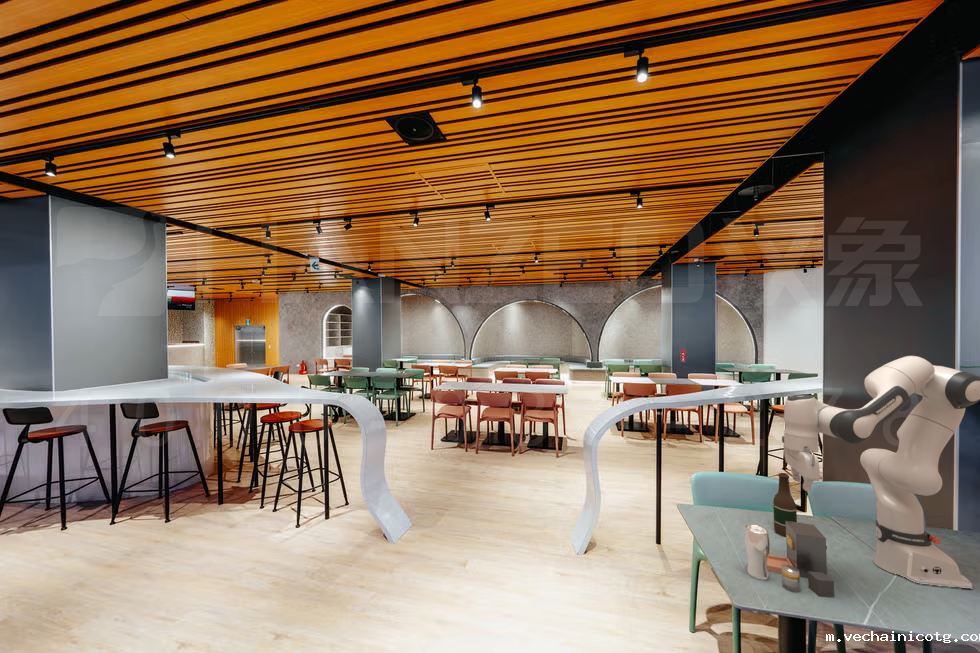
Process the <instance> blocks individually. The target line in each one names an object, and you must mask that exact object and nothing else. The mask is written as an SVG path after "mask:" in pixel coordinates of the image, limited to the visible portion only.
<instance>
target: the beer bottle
mask: <svg viewBox="0 0 980 653" xmlns="http://www.w3.org/2000/svg"><path fill="white" fill-rule="evenodd" d="M777 475H778V491H777V492H776V494H775V495H774V497H773V502H772V504H773V527H774V528H773V529H774V532H775V534H777V535H779V536H781V537H783V538H786V521H792V522H798V517H797V515H798V514H797V512H798V511H797V504H796V502H795V499H794V498H793V496H792V495H791V490H790V476H789V474H787V473H783V472H781V473H780V472H779V473H778V474H777Z"/></svg>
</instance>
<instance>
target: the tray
mask: <svg viewBox="0 0 980 653" xmlns="http://www.w3.org/2000/svg"><path fill="white" fill-rule="evenodd" d="M782 565H790V566H793V565H792V563H791V562H790V560H789V559H788V558H787V557H784V556H778V555H772V554H769V556H768V562H767V570H768V572H770V573H771V572H772V573H778V574H782V572H781V568H782Z"/></svg>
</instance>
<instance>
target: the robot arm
mask: <svg viewBox="0 0 980 653" xmlns="http://www.w3.org/2000/svg"><path fill="white" fill-rule="evenodd" d="M863 384H864V388H865V390H866V392H867V393H868V395H869V396H870V397H871V398H872V400H870V401H869V402H867V404H865V405H863V407H860V408H855V409H850V408H849V409H847V408H842V407H837V406H833V405H829V404H826V403H824V402H821V401H820V400H818V399H816V397H815V396H813V395H810V394H793V395H790V396H788V397H787V398H786V400H785V402H784V407H783V410H784V411H783V420H784V423H785V428H784V432H783V433H784V435H782V436H781V443H782V444H783V455H784V460H785V463H786V464H787V465H789V467H790V471H791V473H792V480H794V482H801V477H802V478H803V483H802V490H804V491H805V492H812V486H813V484H814V481H815V482H819V481H820V478H821V469H820V461H819V458H818V456H817V455H815V453H817V452H819V433H820V434H824V435H826V436H830V437H833V438H837V439H839V440H841V441H845V442H847V443H849V444H852V445H853V444H856V445H857V444H862V443H864V442H866V441H868V440H870V439H871V437H872V436H873V435H874V434H875V432H876V431H877V429H878V428H879V427H880V426H881V425H883V424H884V423H885V422H886V421H888V420H889V419H890V418H892V417H893V416H894V415H895V414H896V413H898V412H900V410H901V409H902V408H904V406H906V405H907V403H908V402H909V400H910V396H911V395H913V394H916V395H920V396H922V399H921V400H920V401H919V402H918V403H917V404H916V405H915V406H914V407H913V409H912V410H911V411H910V413H909V414H908V416H906V418H905V420H904V421H903V422H902V424H901V425H900V427H899V428H898V430H897V431H896V436H897V439H898V442H899V443H898V447H897V451H896V452H894V451H891V450H889V449H885V448H875V447H873V448H868V449H866V450H864V451H863V452H862V453H861V455H860V457H859V458H860V459H859V462H860V465H861V466H862V468H863V470H865V472H866V474H867V476H868V478H869V481H870V484H871V487H872V490H873V493H874V496H875V497H874V498H875V502H876V503H875V504H876V517H877V518H876V520H875V537H876V545H875V551H874V554H873V557H872V559H871V560H872V562H873V563H874V564H875V565H876V566H877V567H879V568H881V569H883V570H885V571H887V572H888V573H890V574H893V573H894V574H893V575H896V574H899V575H903V576H905V577H907V578H909V579H911V580H913V581H915V582H919V583H928V584H933V585H941V586H951V587H952V586H953V587H972V586H973V583H972V582H971V581H970V580H969V579H968V578H967V577H966V578H965V575H963V574H962V573H961V570H960V568H959V566H958V564H957V562H955V560H954V559H953V558H952V557H950V556H949V555H948V554H946V553H945V552H944V551H943V550H941V549H940V548H939V547H937V546H936V545H939V544H941V542H942V541H941V539H939V538H938V537H936V536H935V535H931V534H930V533H929V532H927V531H925V527H924V510H923V507H922V505H921V504H920V502H919V501H918V500H917V498H916V496H915V495H920V496H933V495H936V494H938V492H940V490H941V489H942V487H943V478H942V476H941V474H940V472H939V460H940V458H941V454H942V452H943V450H944V448H945V447H946V445H947V444H948V442H949V441H950V440H951V438H952V437H953V435H954V434H955V432H956V431H957V430H958V428H959V426H960V424H961V422H962V420H963V418H964V415H965V412H966V408H969V407H970V406H972V405H974V404H977V403H978V402H980V375H977V374H974V373H971V372H968V371H962V370H958V369H955V368H951V367H947V366H943V365H934V364H932V363H931V362H930V361H928V360H927V359H925V358H923V357H921V356H916V355H907V356H902V357H900V358H898V359H894V360H892V361H890V362H887V363H885V364H883V365H882V366H879V367H878V368H876V369H875V370H873V371H872V372H870V373H868V375H867V376H865V378H864V383H863ZM934 544H935V545H934ZM961 574H962V575H961ZM922 580H923V581H922ZM966 581H968V583H966ZM915 582H914V583H915ZM941 586H940V587H941ZM951 587H950V588H951Z"/></svg>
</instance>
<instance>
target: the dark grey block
mask: <svg viewBox="0 0 980 653" xmlns="http://www.w3.org/2000/svg"><path fill="white" fill-rule="evenodd" d="M785 542H786V558H788V559H789V560H790V562H791V563H792V565H793V567H795V568H797V569H798V570H799V573H800V578H803V579H808V571H809V572H823V573H824V574H826V575H827V576H828V565H827V563H828V561H827V558H828V557H827V556H828V555H827V550H828V546H827V537H825V536H824V535H823V533H822V532H821V531H820V530H819V529H818V528H817V527H816V526H815V525H814V524H812V523H811V524H810V523H804V522H798V521H797V522H792V521H786V537H785Z"/></svg>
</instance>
